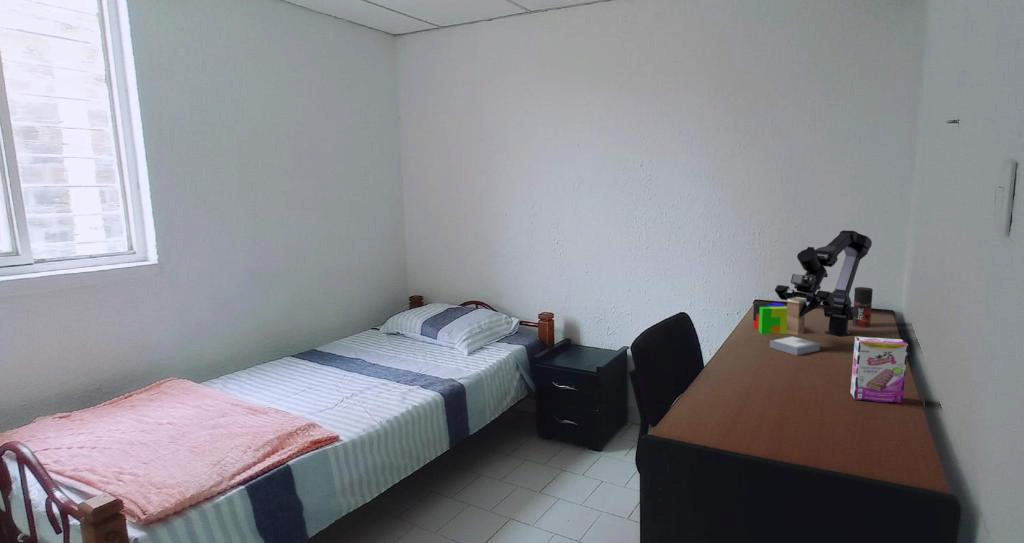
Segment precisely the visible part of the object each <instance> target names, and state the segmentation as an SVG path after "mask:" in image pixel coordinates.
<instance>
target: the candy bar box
mask: <svg viewBox="0 0 1024 543" xmlns="http://www.w3.org/2000/svg"><path fill="white" fill-rule="evenodd" d="M908 349H909V344H908V342H906V341H905V340H903V339H901V338H900V339H899V338H884V337H883V338H882V337H871V336H869V337H867V336H854V345H853V355H852V356H853V357H852V371H851V380H850V381H851V382H850V383H851V384H850V395H851V397H853V399H854V400H855V401H856V400H857V401H866V402H867V401H868V402H876V403H877V402H878V403H888V402H902V403H903V400H904V391H905V388H904V387H905V380H906V371H907V370H906V369H907V359H908V351H909V350H908Z"/></svg>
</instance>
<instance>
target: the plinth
mask: <svg viewBox="0 0 1024 543" xmlns="http://www.w3.org/2000/svg"><path fill="white" fill-rule="evenodd" d="M820 344H821V343H819V342H815V341H812V340H808V339H803V338H800V337H797V336H793V335H791V336H786V337H781V338H776V339H770V340H769V348H770V349H774V350H777V351H780V352H781V351H782V352H784V353H788V354H791V355H794V356H800V355H806V354H809V353H814V352H815V353H816V352H818V351H820V347H821V346H820Z"/></svg>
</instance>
